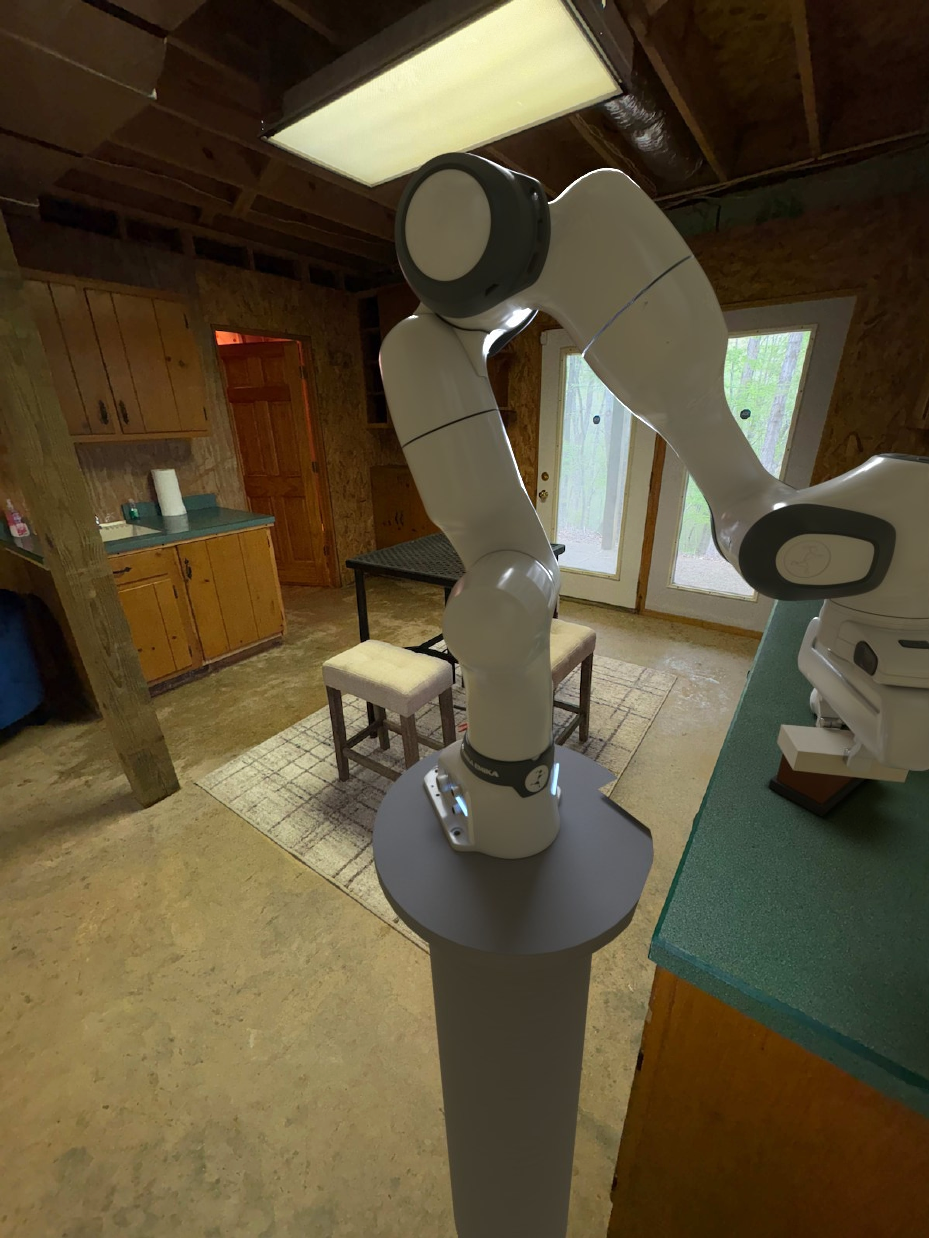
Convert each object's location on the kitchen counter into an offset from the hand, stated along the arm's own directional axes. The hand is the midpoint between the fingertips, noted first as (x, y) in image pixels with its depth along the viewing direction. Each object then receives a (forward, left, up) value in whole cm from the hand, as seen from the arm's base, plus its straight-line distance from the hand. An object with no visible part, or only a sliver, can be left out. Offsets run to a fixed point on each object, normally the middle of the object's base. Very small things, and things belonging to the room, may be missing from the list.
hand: (839, 748), depth 52 cm
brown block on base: (-6, +18, -17) cm, 26 cm away
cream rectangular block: (0, 0, -2) cm, 2 cm away
